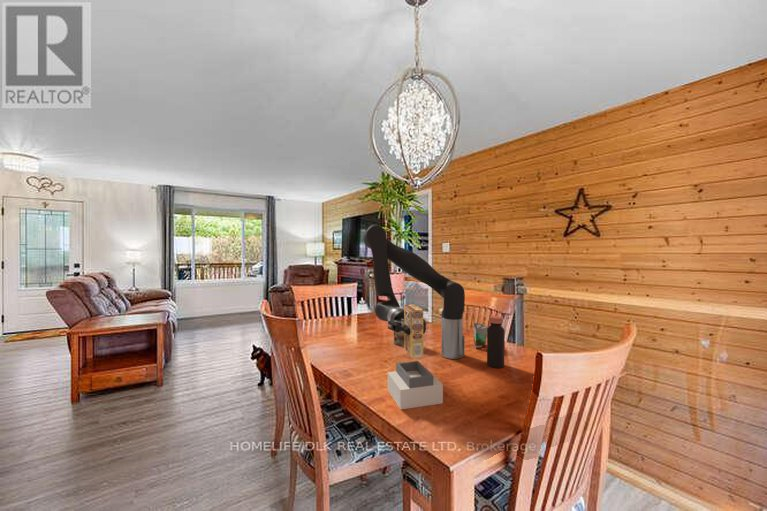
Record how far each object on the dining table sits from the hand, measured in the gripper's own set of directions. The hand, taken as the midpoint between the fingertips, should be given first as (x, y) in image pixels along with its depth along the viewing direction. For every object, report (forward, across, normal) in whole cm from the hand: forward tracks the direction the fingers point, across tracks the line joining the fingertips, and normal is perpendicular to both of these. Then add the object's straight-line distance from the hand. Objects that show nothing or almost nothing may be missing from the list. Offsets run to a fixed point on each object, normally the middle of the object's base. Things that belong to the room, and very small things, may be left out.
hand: (416, 331), depth 102 cm
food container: (-42, +50, +23) cm, 69 cm away
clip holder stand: (-2, 0, +22) cm, 22 cm away
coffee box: (-55, +15, +23) cm, 62 cm away
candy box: (-3, 0, +8) cm, 9 cm away
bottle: (-19, +42, +22) cm, 51 cm away
